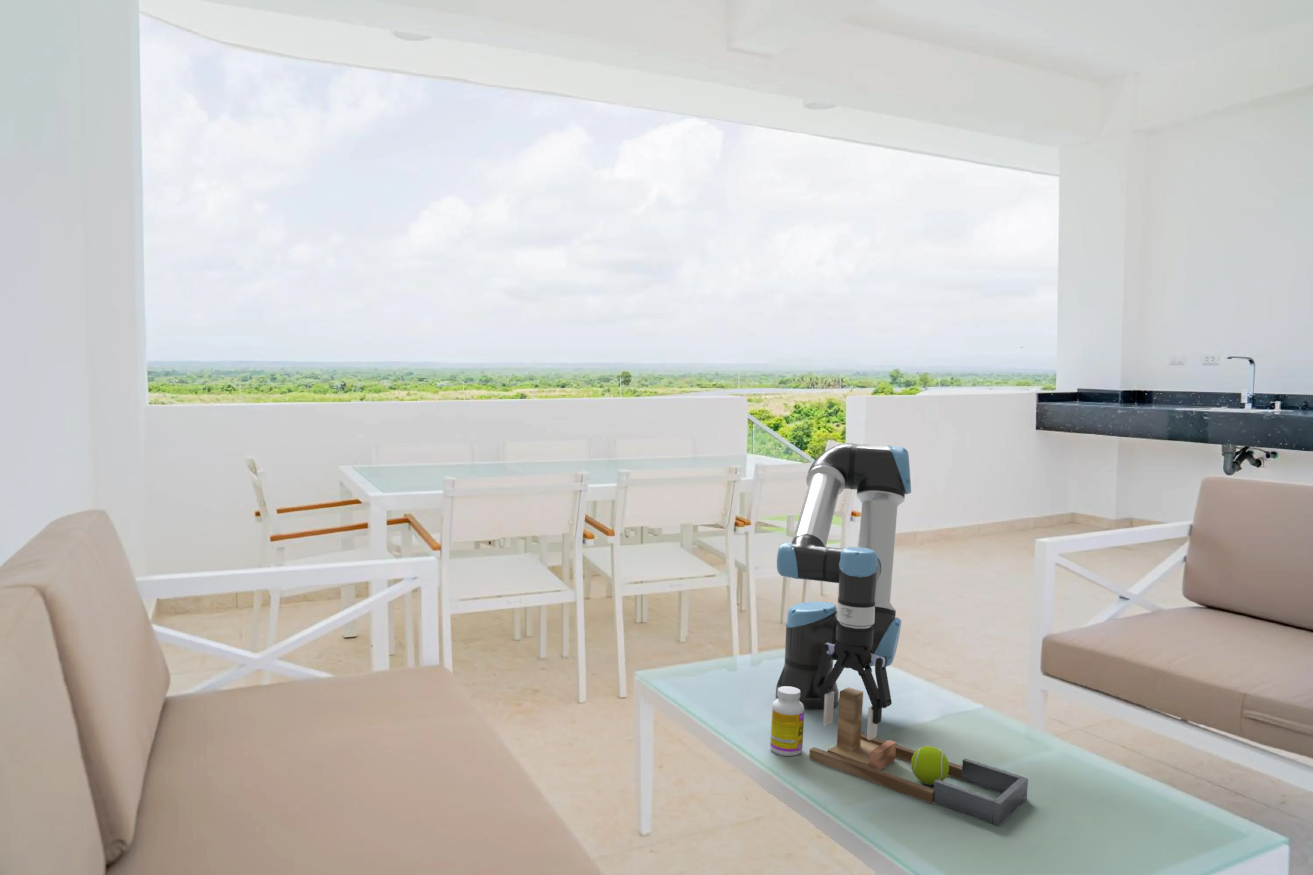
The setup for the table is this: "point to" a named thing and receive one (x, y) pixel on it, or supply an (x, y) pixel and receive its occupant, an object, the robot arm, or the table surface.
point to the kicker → (858, 734)
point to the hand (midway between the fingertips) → (849, 730)
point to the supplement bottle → (787, 722)
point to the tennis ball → (929, 765)
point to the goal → (979, 804)
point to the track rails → (880, 776)
